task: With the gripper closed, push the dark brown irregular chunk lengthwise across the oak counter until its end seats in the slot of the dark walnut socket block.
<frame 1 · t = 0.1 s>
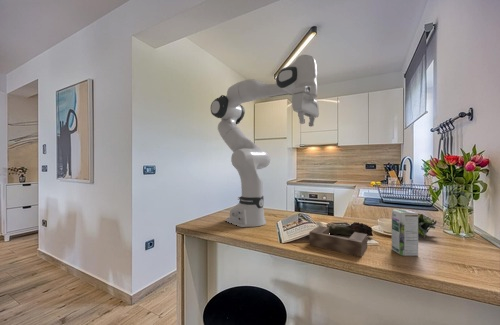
hand: (306, 125, 95), 48 cm above the worktop, tool pointing down, fingers open, 8 cm apart
green leafy plant: (419, 236, 91), on the worktop
socket block: (337, 246, 81), on the worktop
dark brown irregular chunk: (348, 236, 94), on the worktop
syrup box: (404, 253, 75), on the worktop
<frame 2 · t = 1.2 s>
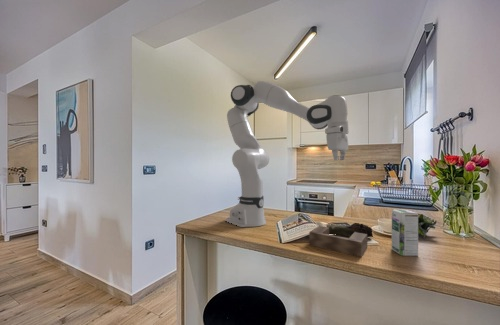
hand: (339, 160, 101), 32 cm above the worktop, tool pointing down, fingers open, 8 cm apart
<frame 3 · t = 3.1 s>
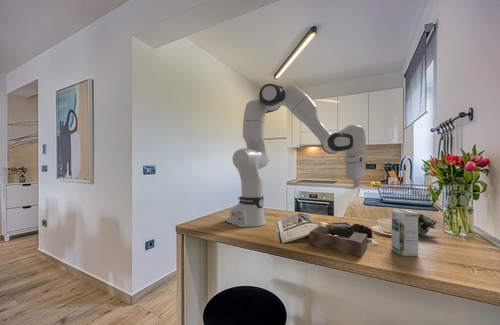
hand: (356, 187, 105), 19 cm above the worktop, tool pointing down, fingers closed
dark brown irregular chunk: (348, 237, 92), on the worktop
everything else where it was.
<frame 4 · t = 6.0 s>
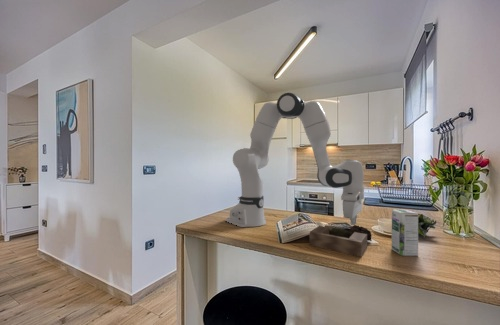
hand: (353, 224, 101), 3 cm above the worktop, tool pointing down, fingers closed
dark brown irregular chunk: (347, 239, 90), on the worktop
everything else where it was.
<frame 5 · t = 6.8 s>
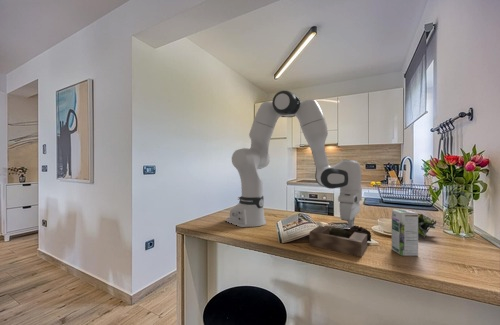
hand: (351, 226, 97), 3 cm above the worktop, tool pointing down, fingers closed
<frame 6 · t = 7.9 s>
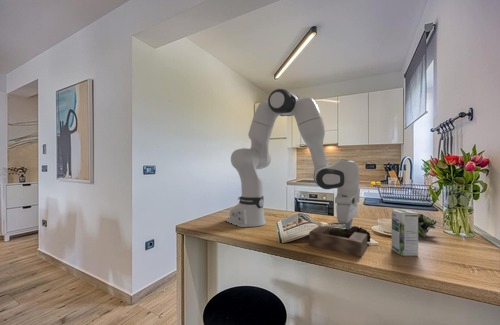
hand: (348, 229, 94), 3 cm above the worktop, tool pointing down, fingers closed
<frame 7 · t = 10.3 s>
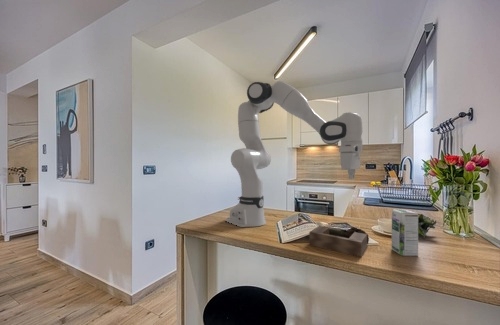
hand: (351, 179, 98), 24 cm above the worktop, tool pointing down, fingers closed
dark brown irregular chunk: (345, 241, 88), on the worktop, touching socket block
everything else where it was.
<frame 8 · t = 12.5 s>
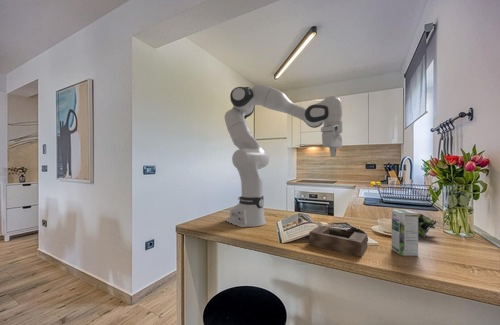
hand: (333, 157, 109), 34 cm above the worktop, tool pointing down, fingers closed
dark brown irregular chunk: (344, 240, 88), on the worktop
everything else where it was.
at the end: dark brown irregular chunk 2.8 cm from the target spot, on the worktop; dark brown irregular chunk moved 7.2 cm from its start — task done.
